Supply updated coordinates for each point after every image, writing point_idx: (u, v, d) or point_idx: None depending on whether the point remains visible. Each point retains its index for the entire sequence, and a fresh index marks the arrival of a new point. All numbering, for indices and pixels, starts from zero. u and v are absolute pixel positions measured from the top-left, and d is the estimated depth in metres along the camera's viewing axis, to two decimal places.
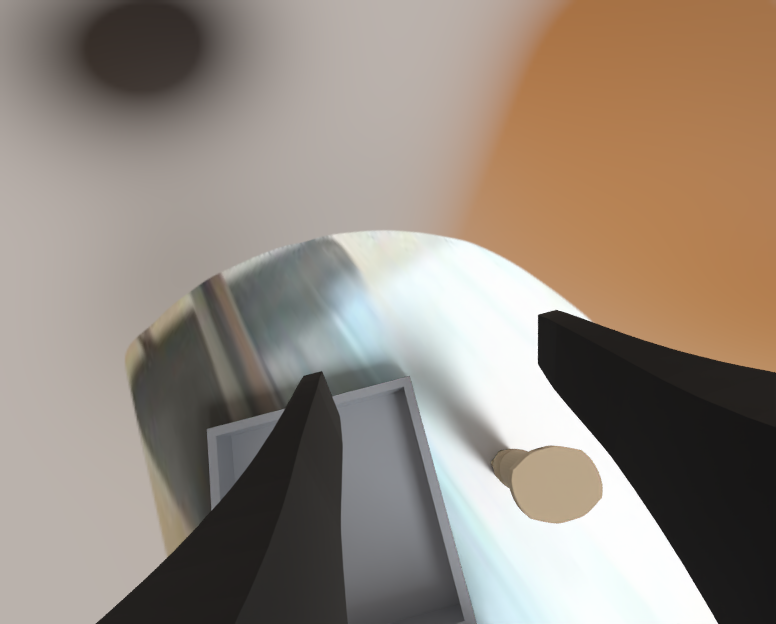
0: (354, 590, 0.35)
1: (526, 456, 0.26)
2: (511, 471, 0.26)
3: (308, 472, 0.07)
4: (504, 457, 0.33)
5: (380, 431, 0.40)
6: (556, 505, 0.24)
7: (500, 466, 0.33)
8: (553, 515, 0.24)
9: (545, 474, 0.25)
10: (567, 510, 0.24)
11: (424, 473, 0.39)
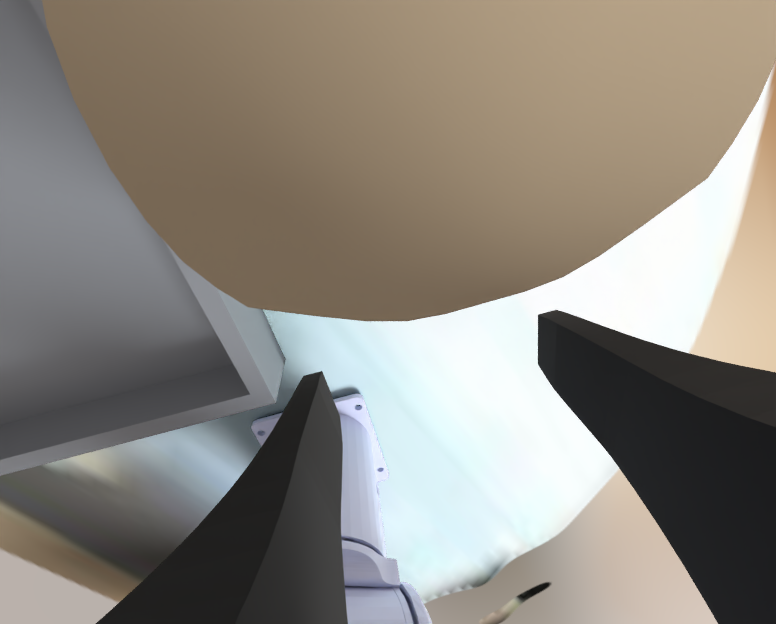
0: (58, 355, 0.19)
1: None
2: None
3: (308, 472, 0.08)
4: None
5: None
6: (421, 229, 0.04)
7: None
8: (393, 285, 0.04)
9: None
10: (482, 256, 0.04)
11: None
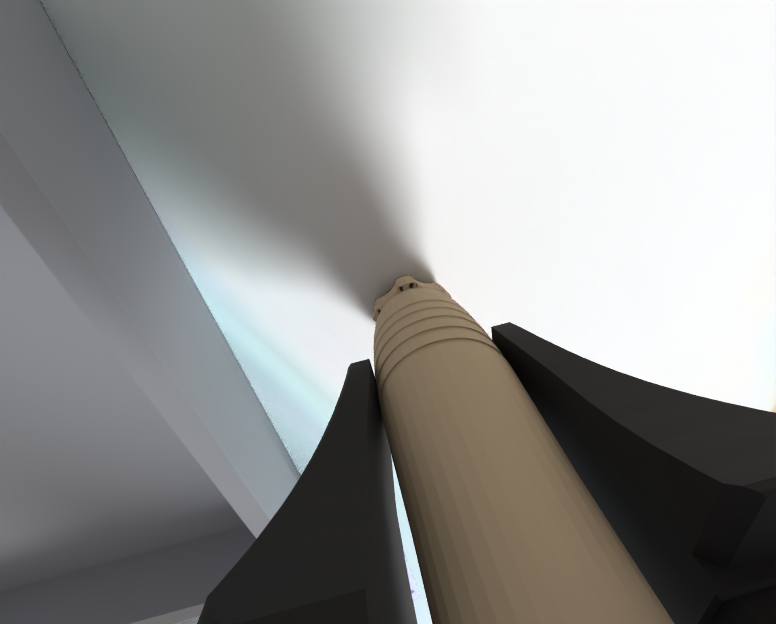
0: (81, 527, 0.18)
1: None
2: None
3: (374, 454, 0.08)
4: (402, 381, 0.09)
5: None
6: None
7: (384, 400, 0.09)
8: None
9: None
10: None
11: None
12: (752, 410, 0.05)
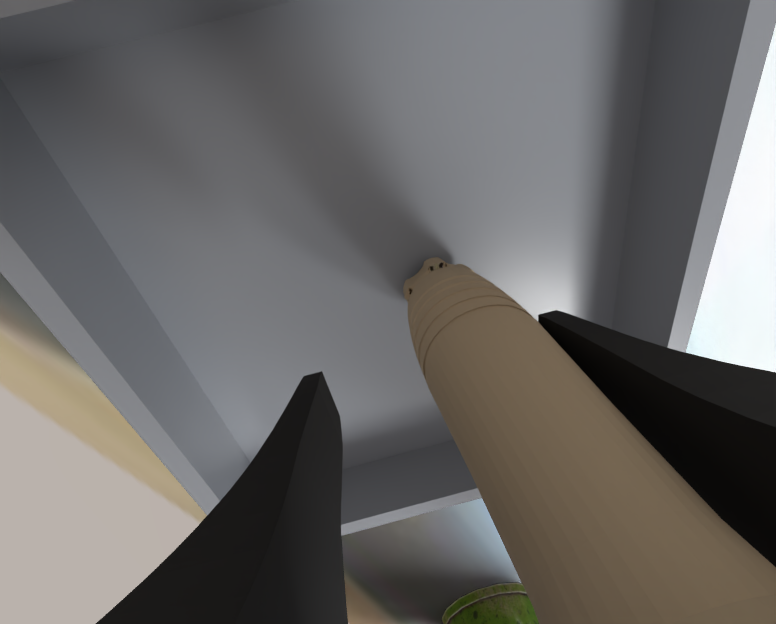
0: None
1: None
2: None
3: (308, 472, 0.07)
4: (450, 342, 0.09)
5: (547, 85, 0.13)
6: None
7: (430, 362, 0.10)
8: None
9: None
10: None
11: (624, 207, 0.16)
12: None
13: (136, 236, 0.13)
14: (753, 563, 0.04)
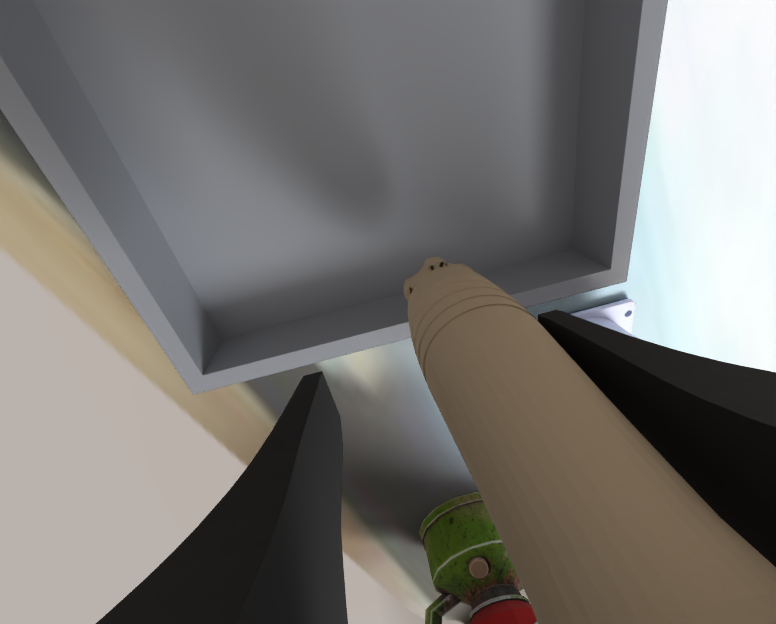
0: (397, 238, 0.19)
1: None
2: None
3: (308, 472, 0.07)
4: (450, 341, 0.09)
5: None
6: None
7: (430, 361, 0.10)
8: None
9: None
10: None
11: None
12: None
13: None
14: (752, 562, 0.04)
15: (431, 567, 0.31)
